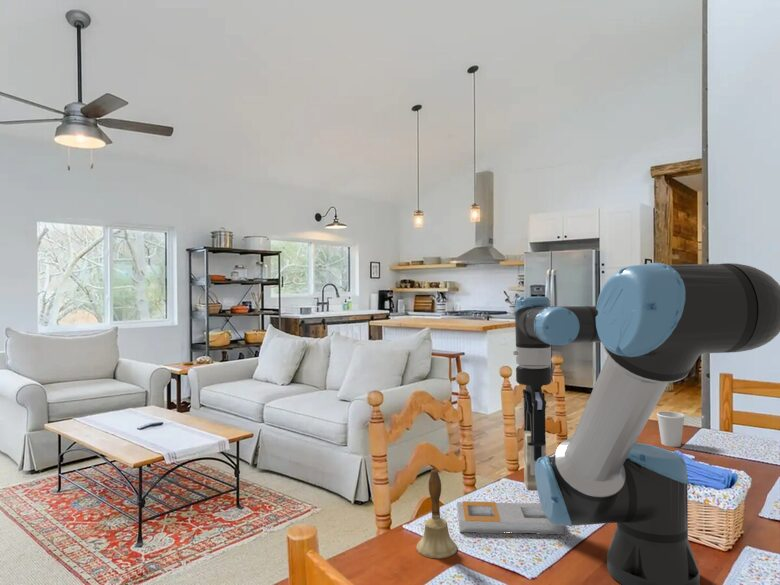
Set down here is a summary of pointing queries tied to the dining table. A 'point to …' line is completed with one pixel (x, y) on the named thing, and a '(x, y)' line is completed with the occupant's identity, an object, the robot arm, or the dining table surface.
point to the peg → (528, 478)
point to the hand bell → (436, 527)
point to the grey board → (504, 518)
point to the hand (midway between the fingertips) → (534, 470)
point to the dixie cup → (670, 428)
